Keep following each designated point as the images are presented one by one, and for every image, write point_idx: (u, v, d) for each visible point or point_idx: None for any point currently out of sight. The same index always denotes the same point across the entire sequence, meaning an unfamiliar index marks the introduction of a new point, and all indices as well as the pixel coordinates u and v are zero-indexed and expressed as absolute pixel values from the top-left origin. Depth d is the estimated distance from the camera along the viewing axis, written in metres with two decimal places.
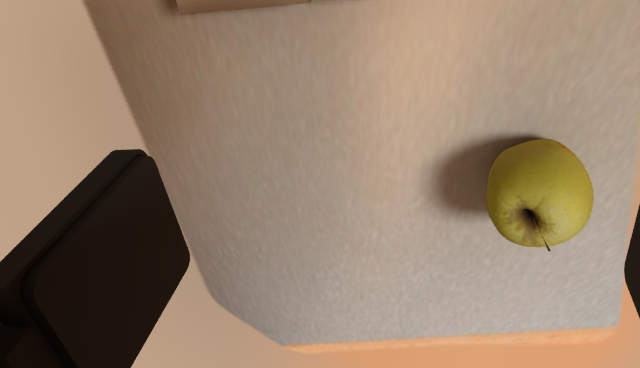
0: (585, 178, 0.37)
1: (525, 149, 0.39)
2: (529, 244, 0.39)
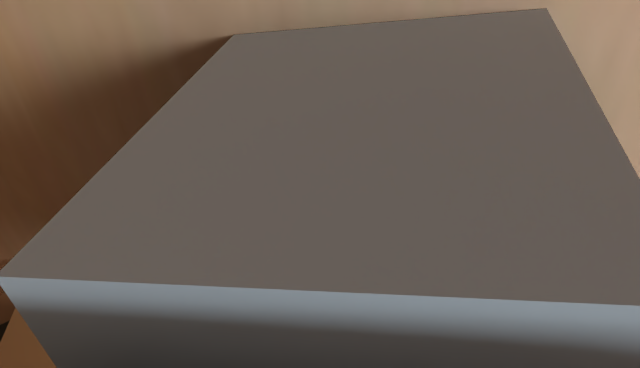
0: None
1: None
2: None
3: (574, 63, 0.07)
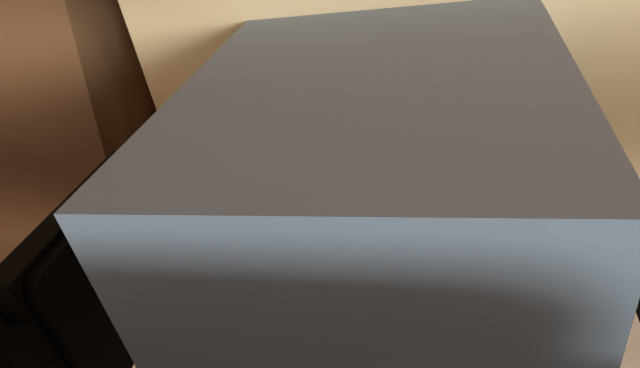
0: None
1: None
2: None
3: (561, 39, 0.08)
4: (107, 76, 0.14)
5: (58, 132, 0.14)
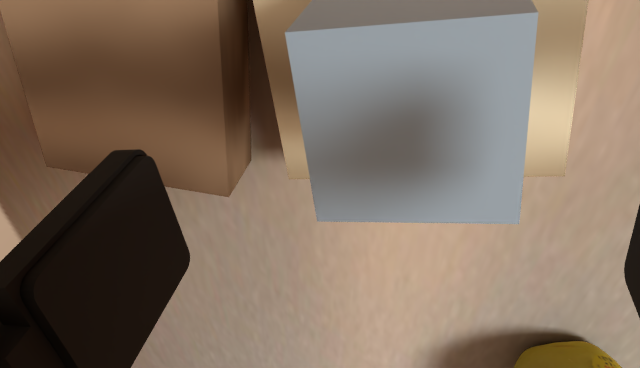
0: None
1: None
2: None
3: None
4: (226, 18, 0.21)
5: (192, 55, 0.21)
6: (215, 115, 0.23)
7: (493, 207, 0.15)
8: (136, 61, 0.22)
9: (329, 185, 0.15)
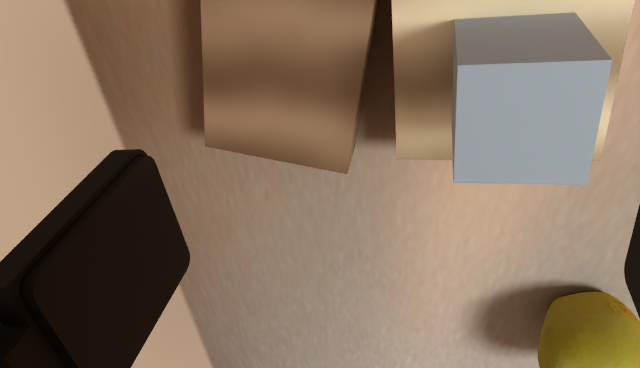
0: None
1: (583, 310, 0.37)
2: None
3: (586, 27, 0.24)
4: (368, 45, 0.30)
5: (342, 69, 0.30)
6: (349, 113, 0.32)
7: (571, 174, 0.24)
8: (298, 72, 0.31)
9: (466, 159, 0.24)
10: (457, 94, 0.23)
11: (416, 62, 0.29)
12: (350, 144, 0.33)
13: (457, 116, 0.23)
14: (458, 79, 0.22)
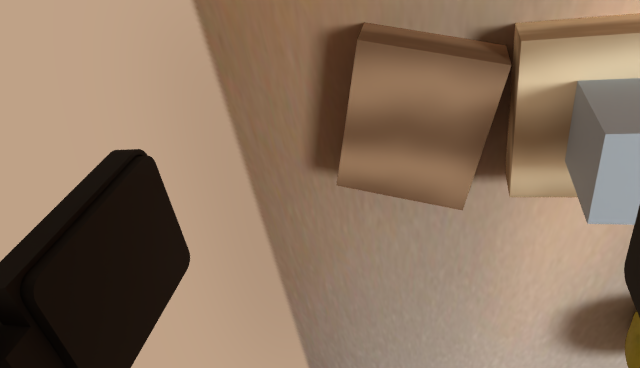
0: None
1: None
2: None
3: None
4: None
5: (471, 127, 0.35)
6: (472, 162, 0.37)
7: None
8: (431, 128, 0.36)
9: (601, 205, 0.29)
10: (601, 155, 0.28)
11: (535, 120, 0.34)
12: (469, 186, 0.38)
13: (599, 172, 0.28)
14: (604, 144, 0.27)
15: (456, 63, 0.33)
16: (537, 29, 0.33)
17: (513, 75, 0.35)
